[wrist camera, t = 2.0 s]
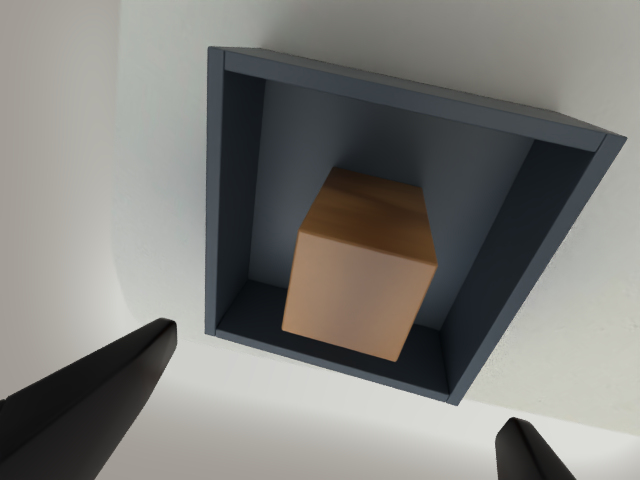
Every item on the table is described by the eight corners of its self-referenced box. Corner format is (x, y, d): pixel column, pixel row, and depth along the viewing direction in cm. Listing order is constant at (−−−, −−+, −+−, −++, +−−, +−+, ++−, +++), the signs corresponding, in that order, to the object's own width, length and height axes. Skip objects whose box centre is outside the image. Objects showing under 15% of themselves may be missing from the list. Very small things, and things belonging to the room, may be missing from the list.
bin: (240, 279, 22) (203, 334, 18) (258, 47, 15) (206, 46, 11) (444, 335, 21) (457, 406, 17) (559, 112, 14) (629, 137, 10)
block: (316, 242, 19) (280, 330, 13) (332, 165, 17) (297, 229, 11) (395, 263, 19) (396, 363, 13) (422, 187, 16) (439, 265, 10)
